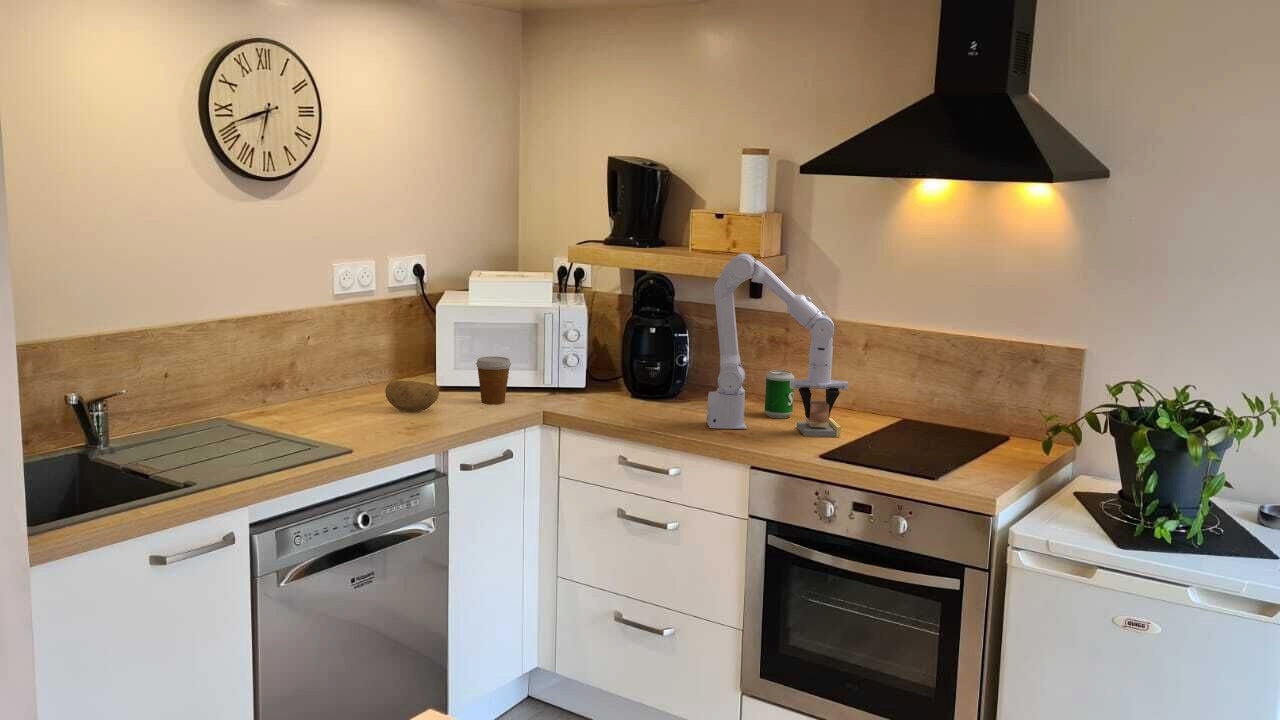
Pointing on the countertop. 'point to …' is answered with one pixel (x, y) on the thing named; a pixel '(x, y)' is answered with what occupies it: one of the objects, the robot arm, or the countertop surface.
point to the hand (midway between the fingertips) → (817, 417)
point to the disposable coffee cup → (493, 378)
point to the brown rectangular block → (818, 414)
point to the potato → (411, 395)
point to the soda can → (779, 394)
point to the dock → (820, 429)
